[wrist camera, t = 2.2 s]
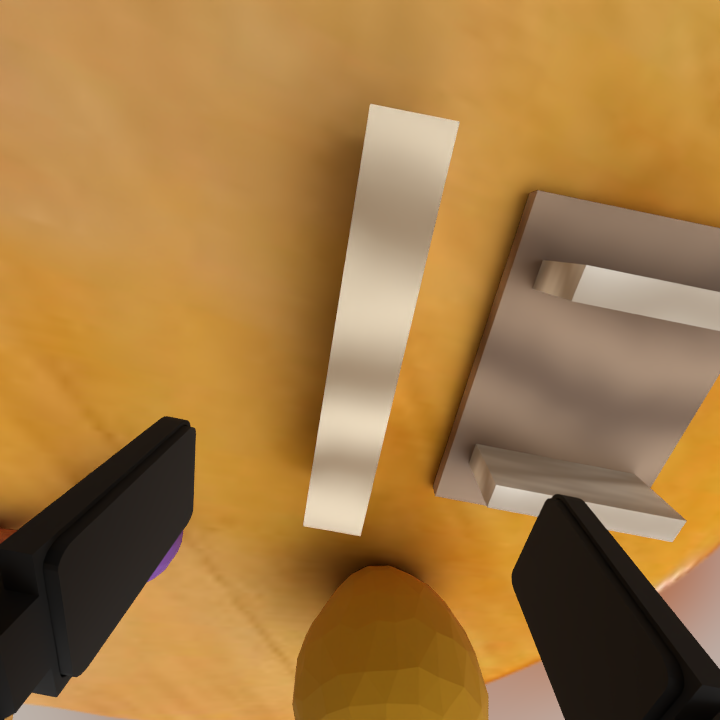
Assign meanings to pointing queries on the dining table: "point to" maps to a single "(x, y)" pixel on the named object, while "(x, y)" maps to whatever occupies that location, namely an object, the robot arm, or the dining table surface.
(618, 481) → the rail rest
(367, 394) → the beech bar
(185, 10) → the dining table surface
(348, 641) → the apple
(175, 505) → the robot arm
